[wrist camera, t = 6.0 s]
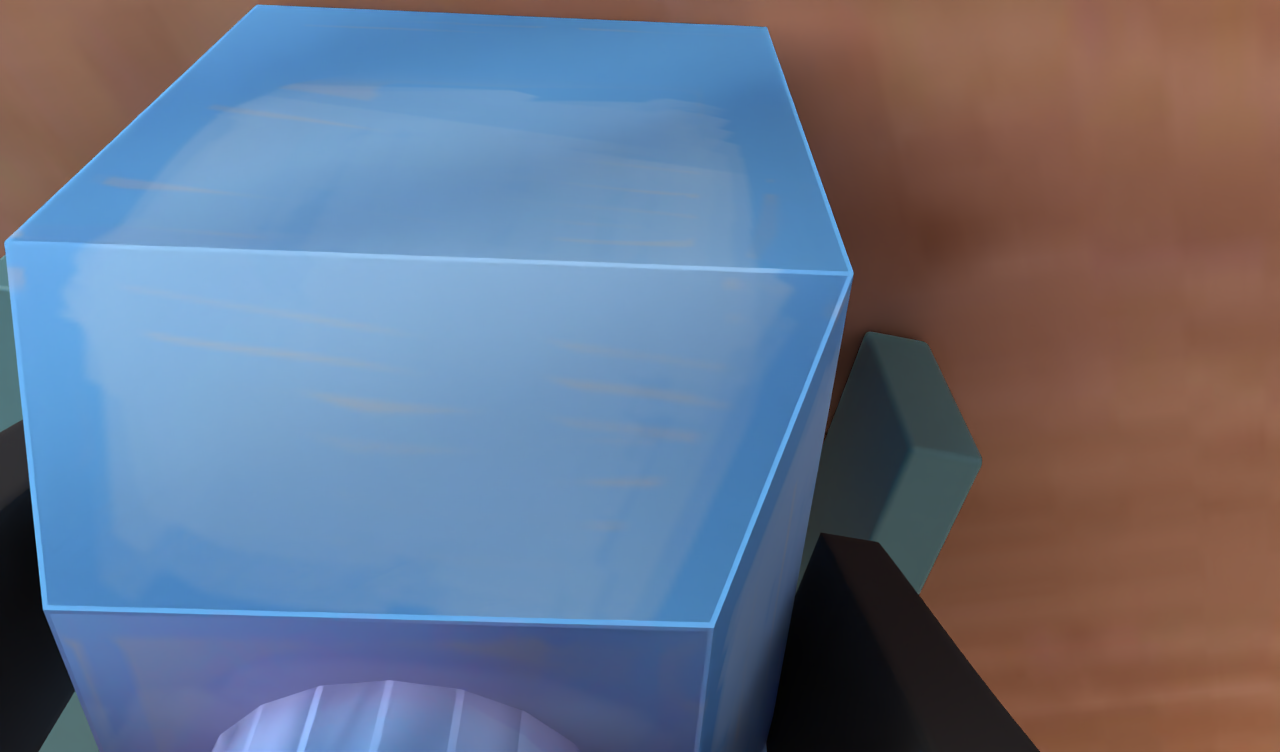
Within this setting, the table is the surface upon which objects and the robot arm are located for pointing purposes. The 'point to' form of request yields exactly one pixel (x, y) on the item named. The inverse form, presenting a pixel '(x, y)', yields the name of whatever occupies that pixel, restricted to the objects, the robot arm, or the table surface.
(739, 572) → the perfume bottle
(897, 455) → the bay
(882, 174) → the table surface
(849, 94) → the table surface
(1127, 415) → the table surface
